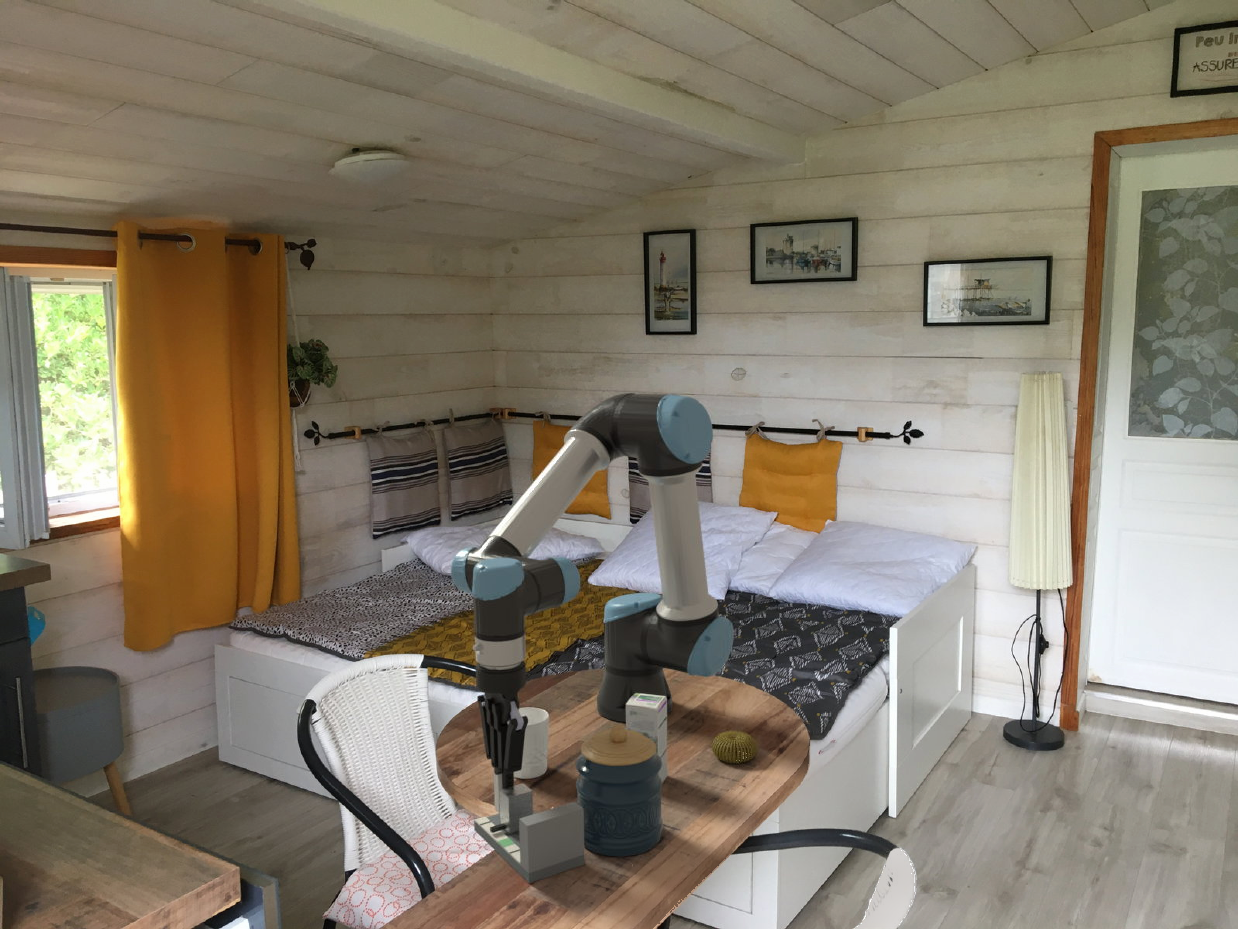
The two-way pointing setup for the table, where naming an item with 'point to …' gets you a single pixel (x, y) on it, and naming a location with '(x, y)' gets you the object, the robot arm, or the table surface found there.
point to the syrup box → (650, 722)
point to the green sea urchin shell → (734, 746)
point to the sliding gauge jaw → (514, 807)
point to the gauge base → (539, 841)
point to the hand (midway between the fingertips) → (504, 809)
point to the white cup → (534, 743)
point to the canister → (620, 792)
